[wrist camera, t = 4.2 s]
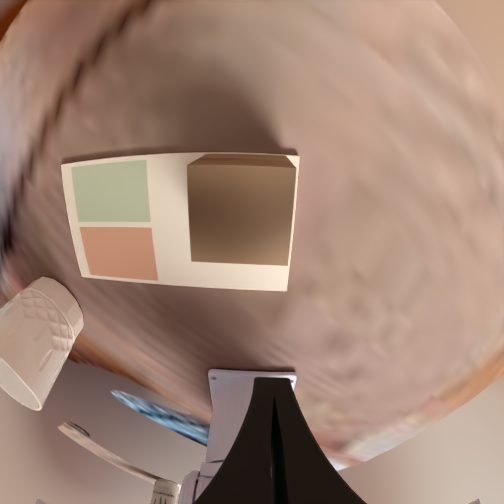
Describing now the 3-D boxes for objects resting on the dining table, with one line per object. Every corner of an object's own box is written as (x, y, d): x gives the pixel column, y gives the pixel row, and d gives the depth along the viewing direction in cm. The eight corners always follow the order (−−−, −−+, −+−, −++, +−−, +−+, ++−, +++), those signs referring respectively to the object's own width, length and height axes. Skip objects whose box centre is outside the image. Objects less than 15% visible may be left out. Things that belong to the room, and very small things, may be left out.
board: (286, 287, 19) (286, 291, 19) (84, 274, 19) (81, 277, 19) (298, 155, 15) (299, 156, 15) (64, 163, 15) (60, 164, 15)
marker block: (281, 229, 17) (287, 265, 13) (207, 227, 17) (191, 261, 13) (286, 156, 15) (296, 168, 11) (206, 153, 15) (186, 165, 11)
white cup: (21, 290, 21) (-33, 349, 12) (48, 255, 19) (-25, 325, 10) (68, 344, 24) (27, 412, 15) (103, 322, 22) (54, 408, 13)
